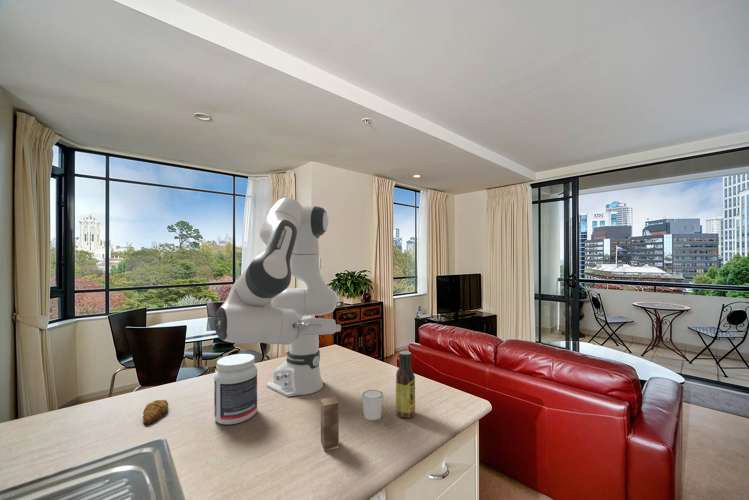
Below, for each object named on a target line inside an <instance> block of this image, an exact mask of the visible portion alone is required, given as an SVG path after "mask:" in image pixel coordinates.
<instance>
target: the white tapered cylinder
mask: <svg viewBox="0 0 749 500" xmlns="http://www.w3.org/2000/svg"><path fill="white" fill-rule="evenodd" d="M361 398H362V400H361V401H362V408H363V409H362V411H363V417H364V419H366V420H368V421H377V420H379V419H381V418H382V413H383V412H382V410H383V402H384V393H383V392H382V391H381V390H379V389H378V390H377V389H368V390H365V391H363V392H362V393H361Z"/></svg>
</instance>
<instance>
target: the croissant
mask: <svg viewBox="0 0 749 500" xmlns="http://www.w3.org/2000/svg"><path fill="white" fill-rule="evenodd" d="M168 409H169V403H168V400H167V399H157V400H153V401H151V402H149V403H147V404H146V406H145V407H144V410H143V412H142V415H143V416H142V418H143V422H144V424H145V425H146V426H147V425H151V424H152V423H155V422H156V421H158V419H159V418H160V417H162V416H163V415H164V414H165V412H166V411H167V410H168Z"/></svg>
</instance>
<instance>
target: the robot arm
mask: <svg viewBox="0 0 749 500" xmlns="http://www.w3.org/2000/svg"><path fill="white" fill-rule="evenodd" d="M328 225H329V217H328V213H327V211H326V210H325V208H323V207H320V206H316V205H315V206H308V205H302V204H301V203H300V202H299V201H298V200H296V199H294V198H292V197H282V198H280V199H279V200H277V201H276V202H275V203H274V204H273V205H272V207H271V208H270V209H268V211H267V213H266V216H265V217H264V220H263V222H262V224H261V228H260V232H259V237H260V238H261V240H262V242H263V243H264V244H265V245H266V248H265V250H264V251H263V252H262V253H260V254H258V255H257V256H255V257H254V259H253V260H252V261H251V262H250V264H249V265H248V267H247V268H246V269H245V270H244V271H243V273H241V275H239V277H238V278H237V279H236V280H235V282H234V283H233V284H232V286H231V288H230V290H229V294H228V296H227V298H226V299H225V301H224V302H223V303H222V304H221V306H219V308H217V310H216V312H215V315H214V319H213V320H214V323H213V324H214V325H213V326H214V331H215V334H216V336H217V337H218V338H219V339H220V340H222V341H223V342H227V343H231V344H233V343H234V344H243V345H257V344H260V343H261V344H262V343H263V344H268V345H288V346H289V351H287V352H285V353H284V357H286V356H287V357H286V359H285V361H284V362H282V363H281V364H280V365H279V366H278V367H276V368H275V370H274V371H273V376H272V377H273V378H272V379H270V380H269V381H268V382H267V383H266V387H267V388H269V389H271V390H273V391H275V392H277V393H279V394H280V395H282V396H283V395H284V396H285V397H288V398H289V397H293V396H294V397H295V396H303V395H310V394H313V393H315V392H316V393H317V392H319V390H321V389H322V388H323V386H324V384H323V383H324V382H323V381H322V380H323V379H322V375H321V369H320V359H321V356H320V355H321V353H320V348H319V345H320V343H319V342H320V340H319V338H320V337H319V335H333V334H335V333H338V332H341V331H342V325H341V324H338V323H337V324H336V320H335V319H333V318H323V317H322V318H320V317H309V316H323V315H327V314H331V313H333V312H334V311H335V309H336V307H337V306H338V305H337V304H338V296H337V294H336V292H335V291H334V290H333V289H332V288H331V287H329V286H328V285H327V284H326V282H325V281H324V280H323V277H322V275H321V271H320V260H319V259H320V257H319V256H320V253H319V252H320V251H319V250H320V249H319V238H320V237H321V236H323V235H324V234H325V233H326V232H327V230H328V227H329V226H328ZM292 277H294V278H295V279H298V280H300V281H302V282H304V284H305V285H306V287H295V288H293V287H291V288H290V284H291V282H292ZM307 316H308V318H303V317H307Z"/></svg>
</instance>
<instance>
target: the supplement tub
mask: <svg viewBox="0 0 749 500" xmlns="http://www.w3.org/2000/svg"><path fill="white" fill-rule="evenodd" d="M255 359H256V358H255V355H254V354H251V353H236V354H231V355H226V356H224V357H223V356H222V357H221V358H220V359H218V360H217V361H216V369H217V370H216V371H215V373H214V377H213V380H214V381H213V382H214V385H213V387H214V389H213V391H214V392H213V393H214V394H213V396H214V397H213V399H214V400H213V402H214V405H213V406H214V410H213V412H214V413H213V414H214V415H213V416H214V417H213V418H214V420H215V421H216V422H217V423H218V424H221V425H236V424H239V423H243V422H246V421H247V420H250V419H251V418H252V417H253V416H254V415H256V413H257V410H258V368H257V366H256V365H255V363H256V360H255Z"/></svg>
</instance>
